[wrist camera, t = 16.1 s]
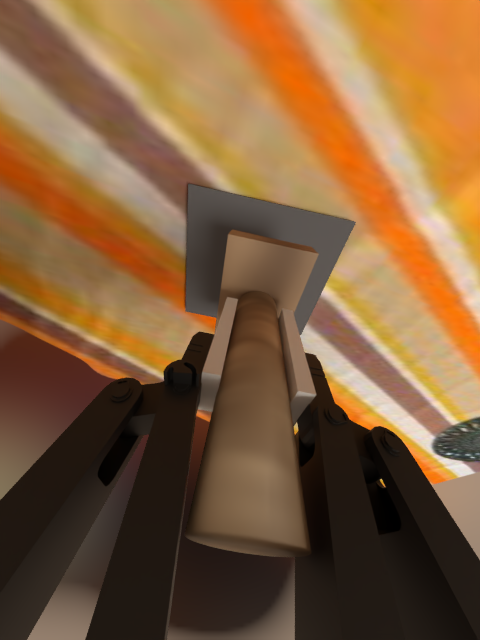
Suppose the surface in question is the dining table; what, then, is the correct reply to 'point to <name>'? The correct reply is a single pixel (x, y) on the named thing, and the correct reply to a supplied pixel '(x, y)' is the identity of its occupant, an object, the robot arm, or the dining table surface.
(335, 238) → the mat
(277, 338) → the tamper
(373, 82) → the dining table surface
